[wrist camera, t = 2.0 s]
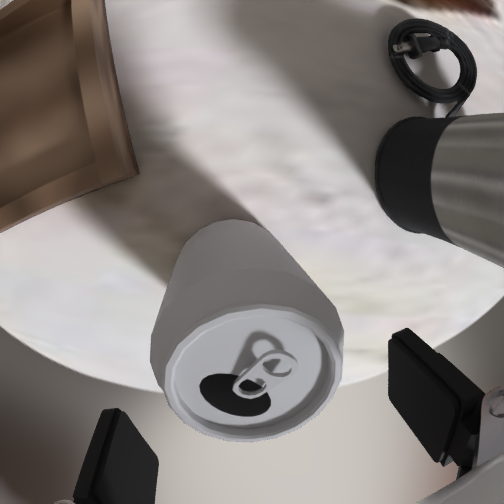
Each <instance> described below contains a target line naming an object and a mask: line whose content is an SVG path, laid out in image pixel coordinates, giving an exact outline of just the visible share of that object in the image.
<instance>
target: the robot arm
mask: <svg viewBox="0 0 504 504" xmlns="http://www.w3.org/2000/svg"><path fill="white" fill-rule="evenodd" d="M388 367H389V370H388V374H389V375H388V396H389V399H390V401H391V403H392V404H393V405H394V407H395V408H396V409H397V410H398V412H399V414H400V415H401V416H402V418H403V419H404V420H405V422H406V423H407V425H408V426H409V427H410V429H411V430H412V431H413V433H414V434H415V436H416V437H417V438H418V440H419V441H420V442H421V444H422V445H423V446H424V448H425V449H426V451H427V452H428V454H429V455H430V456H431V457H432V459H433V460H434V462H436V463H438V462H440V463H441V464H442V466H443V467H444V466H446V465H448V464H449V463H451V462H452V461H454V462H455V463H456V464H457V466H459V467H458V472H457V477H456V480H455V481H454V482H452V483H451V484H449V485H447V486H446V487H444V488H442V489H440V490H439V491H437V492H435V493H433V494H431V495H430V496H428V497H426V498H424V499H422V500H420V501H418V502H416V503H415V504H504V387H497V388H494V389H492V390H490V391H489V392H488V393H487V394H485V393H484V392H483V391H482V390H481V389H479V388H478V387H477V386H476V385H475V384H474V383H473V382H472V381H471V380H470V379H468V378H467V377H466V376H465V375H464V374H463V373H462V372H461V371H460V370H458V369H457V368H456V367H455V366H454V365H453V364H452V363H451V362H450V361H448V360H447V359H446V358H445V357H444V356H443V355H441V354H440V353H437V352H436V351H435V350H433V349H432V348H431V347H430V346H429V345H428V344H427V343H425V342H424V341H423V340H422V339H421V338H420V337H418V336H417V335H416V334H415V333H414V332H413V331H411V330H410V329H409V328H405V329H403V330H401V331H398V332H396V333H394V334H392V339H390V340H389V341H388ZM158 466H159V461H158V457H157V456H156V454H155V453H154V452H153V450H152V449H151V448H150V446H149V445H148V444H147V442H146V441H145V440H144V438H143V437H142V436H141V434H140V433H139V432H138V430H137V429H136V427H135V426H134V424H133V423H132V421H131V420H130V418H129V417H128V415H127V414H126V413H125V412H123V411H121V410H120V409H119V408H114V409H104V410H103V411H102V413H101V415H100V418H99V420H98V423H97V426H96V429H95V431H94V434H93V437H92V440H91V442H90V445H89V448H88V451H87V454H86V456H85V460H84V462H83V465H82V468H81V472H80V474H79V478H78V481H77V484H76V487H75V490H74V493H73V498H74V501H73V502H72V501H68V500H61V501H58V502H56V503H54V504H155V494H156V485H157V476H158Z"/></svg>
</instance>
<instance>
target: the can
mask: <svg viewBox="0 0 504 504" xmlns="http://www.w3.org/2000/svg"><path fill="white" fill-rule="evenodd" d="M343 345H344V330H343V327H342V324H341V321H340V318H339V315H338V313H337V310H336V307H335V306H334V305H333V304H332V303H331V301H330V300H329V299H328V298H327V297H326V295H325V294H324V293H323V292H322V291H321V290H320V288H319V287H318V286H317V285H316V284H315V283H314V281H313V280H312V279H311V278H310V277H309V276H308V275H307V273H306V272H305V271H304V270H303V269H302V268H301V266H300V265H299V264H298V263H297V262H296V261H295V260H294V258H293V257H292V256H291V255H290V254H289V253H288V252H287V250H286V249H285V248H284V247H283V246H282V245H281V244H280V242H279V241H278V240H277V239H276V238H275V237H274V236H273V235H272V234H271V233H270V232H269V231H268V230H266V229H264V228H262V227H261V226H259V225H257V224H255V223H253V222H248V221H243V220H237V219H231V220H224V221H216V222H214V223H212V224H210V225H208V226H206V227H203V228H201V229H199V230H198V231H197V232H196V233H195V234H194V235H193V236H192V237H191V238H190V239H189V240H188V241H187V242H186V243H185V244H184V246H183V248H182V250H181V252H180V254H179V256H178V258H177V261H176V264H175V266H174V269H173V272H172V275H171V278H170V281H169V284H168V286H167V289H166V292H165V295H164V298H163V301H162V304H161V307H160V310H159V313H158V316H157V319H156V322H155V326H154V329H153V332H152V335H151V350H150V363H151V366H152V369H153V372H154V374H155V377H156V380H157V383H158V385H159V386H160V388H161V389H162V390H163V391H164V394H165V397H166V399H167V402H168V404H169V407H170V408H171V409H172V410H173V411H174V412H175V413H176V415H177V416H178V417H179V418H180V419H181V420H182V421H183V422H184V423H185V424H187V425H188V426H190V427H192V428H194V429H195V430H197V431H199V432H201V433H202V434H204V435H208V436H211V437H215V438H218V439H222V440H226V441H235V442H255V441H261V440H268V439H273V438H277V437H279V436H282V435H285V434H287V433H290V432H292V431H295V430H297V429H299V428H300V427H302V426H303V425H305V424H306V423H307V422H309V421H310V420H312V419H313V418H315V417H316V416H317V415H318V414H319V413H320V412H321V411H322V410H323V409H324V408H325V407H326V405H327V404H328V403H329V402H330V401H331V400H332V398H333V396H334V394H335V392H336V390H337V388H338V385H339V383H340V381H341V379H342V365H343Z"/></svg>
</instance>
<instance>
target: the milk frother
mask: <svg viewBox="0 0 504 504" xmlns="http://www.w3.org/2000/svg"><path fill="white" fill-rule="evenodd" d="M414 33H428V34H430V36H428V37H416V36H415V34H414ZM440 49H449V50H451V51H452V52H453V53H454V55H455V56H456V57H457V59H458V60H459V63H460V76H459V79H458V81H457V83H456V84H455V85H454V86H453V87H451V88H449V89H437V88H434V87H432V86H430V85H428V84H426V83H425V82H423V81H422V80H421V79H419V78H418V77H417V76H416V75H415V74H414V73H413V72H412V70H411V69H410V68H409V66H408V64H407V62H406V60H405V58H404V54H405V53H406V52H407V54H408V56H409V58H411V59H416V58H420V57H422V53H425V52H427V51H431V52H437V51H440ZM388 50H389V56H390V59H391V62H392V64H393V67H394V69H395V71H396V72H397V74H398V76H399V77H400V79H401V80H402V82H403V83H404V84H405V85H406V86H407V87H408V88H409V89H410V90H412V91H413V92H414V93H416V94H417V95H418V96H420V97H423V98H425V99H427V100H429V101H433V102H436V103H452V102H456V101H457V104H456V105H455V106H454V108H453V109H452V110H451V111H450V112H449V113H448V114H447V115H446V117H445V118H432V119H427V118H423V117H410V118H406V119H404V120H401V121H399V122H398V123H397V124H395V125H394V126H393V127H392V128H391V129H389V131H388V132H387V134H386V135H385V137H384V138H383V140H382V142H381V144H380V146H379V150H378V153H377V157H376V163H375V180H376V188H377V193H378V195H379V199H380V202H381V204H382V206H383V208H384V210H385V211H386V213H387V214H388V216H389V217H390V218H391V220H393V221H394V223H396V224H397V225H398V226H399V227H401V228H403V229H404V230H406V231H409V232H413V233H419V234H420V233H424V234H427V235H430V236H433V237H436V238H439V239H442V240H444V241H447V242H449V243H451V244H454V245H456V246H458V247H461V248H463V249H465V250H467V251H469V252H471V253H473V254H476V255H478V256H480V257H482V258H484V259H486V260H489V261H491V262H493V263H495V264H497V265H499V266H501V267H503V268H504V113H492V114H479V115H470V116H459V117H454V116H455V114H456V113H457V112H458V110H459V109H460V108H461V106H462V105H463V104H464V102H465V101H466V100H467V98H468V97H469V96H470V94H471V92H472V91H473V89H474V87H475V84H476V78H477V67H476V63H475V60H474V57H473V55H472V53H471V51H470V50H469V48H468V47H467V45H466V44H465V43H464V42H463V41H462V40H461V39H460V38H459V37H458V36H457V35H455V34H454V33H453V32H451V31H449V30H448V29H447V28H445V27H443V26H441V25H439V24H437V23H434V22H432V21H429V20H425V19H408V20H405V21H403V22H401V23H399V24H398V25H397V26H396V27H394V28H393V30H392V31H391V33H390V36H389V40H388Z"/></svg>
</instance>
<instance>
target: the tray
mask: <svg viewBox="0 0 504 504" xmlns="http://www.w3.org/2000/svg"><path fill="white" fill-rule="evenodd" d="M138 174H139V170H138V167H137V163H136V159H135V155H134V151H133V148H132V144H131V140H130V136H129V131H128V127H127V123H126V119H125V114H124V110H123V106H122V101H121V96H120V92H119V87H118V82H117V77H116V71H115V66H114V61H113V55H112V49H111V43H110V37H109V30H108V23H107V16H106V9H105V0H14V1H12V2H11V3H9V4H8V5H6V6H5V7H4V8H2V9H1V10H0V233H1V232H3V231H5V230H7V229H9V228H11V227H13V226H15V225H17V224H19V223H21V222H23V221H25V220H28V219H30V218H32V217H34V216H36V215H38V214H40V213H43V212H45V211H47V210H49V209H51V208H54V207H56V206H58V205H61V204H63V203H65V202H68V201H70V200H72V199H75V198H77V197H80V196H82V195H84V194H87V193H89V192H92V191H95V190H97V189H100V188H102V187H105V186H108V185H110V184H113V183H116V182H118V181H121V180H124V179H127V178H129V177H132V176H135V175H138Z"/></svg>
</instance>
